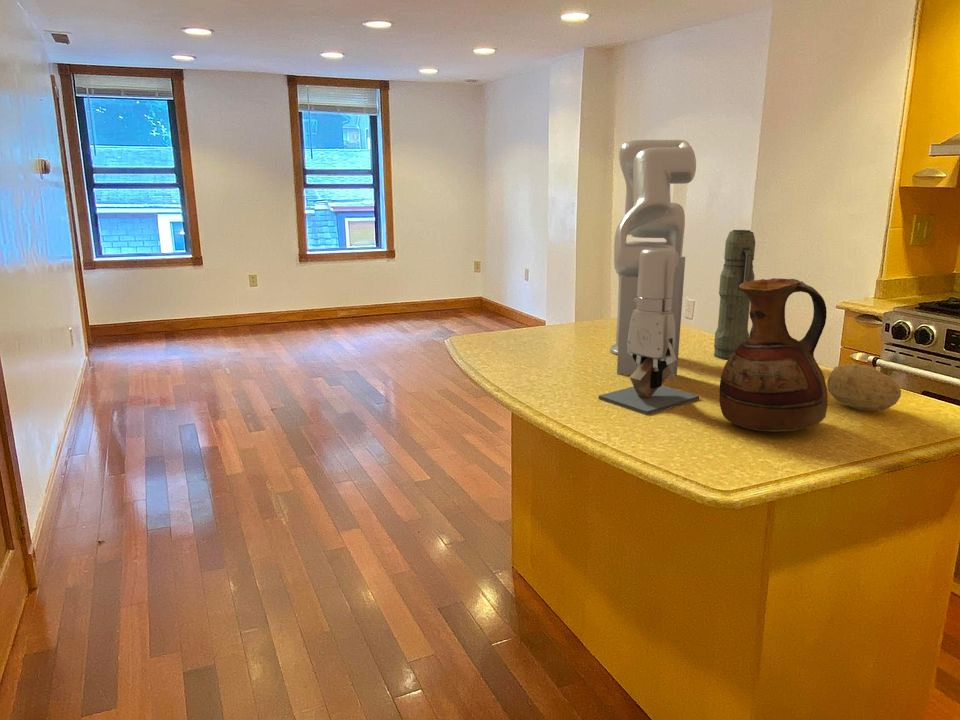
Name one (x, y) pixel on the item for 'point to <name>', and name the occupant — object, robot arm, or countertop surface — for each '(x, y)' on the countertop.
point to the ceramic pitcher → (775, 364)
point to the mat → (657, 402)
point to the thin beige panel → (627, 306)
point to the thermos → (734, 293)
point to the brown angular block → (646, 378)
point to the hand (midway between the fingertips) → (649, 384)
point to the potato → (863, 387)
